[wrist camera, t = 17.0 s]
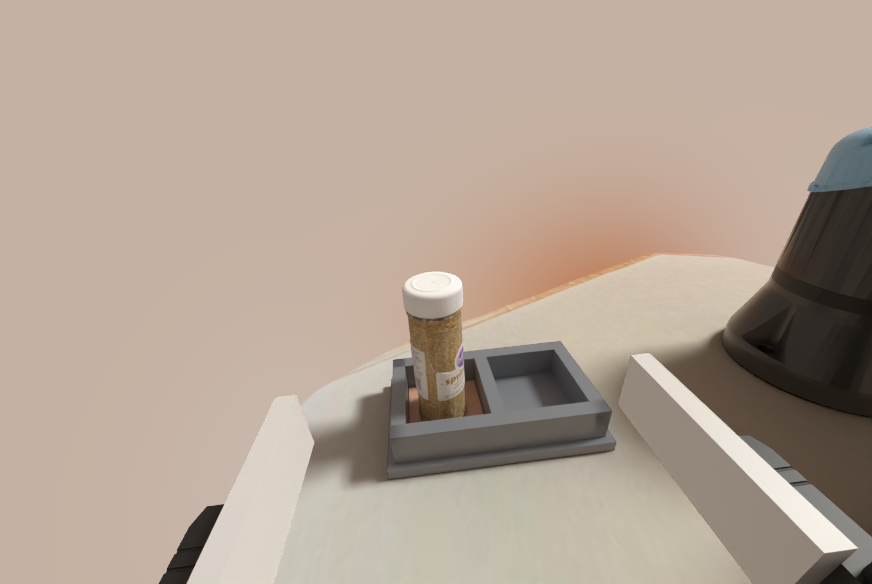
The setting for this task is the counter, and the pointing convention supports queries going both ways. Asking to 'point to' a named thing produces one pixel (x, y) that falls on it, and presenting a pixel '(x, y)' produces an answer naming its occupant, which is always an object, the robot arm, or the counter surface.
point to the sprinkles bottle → (436, 343)
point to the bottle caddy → (500, 413)
